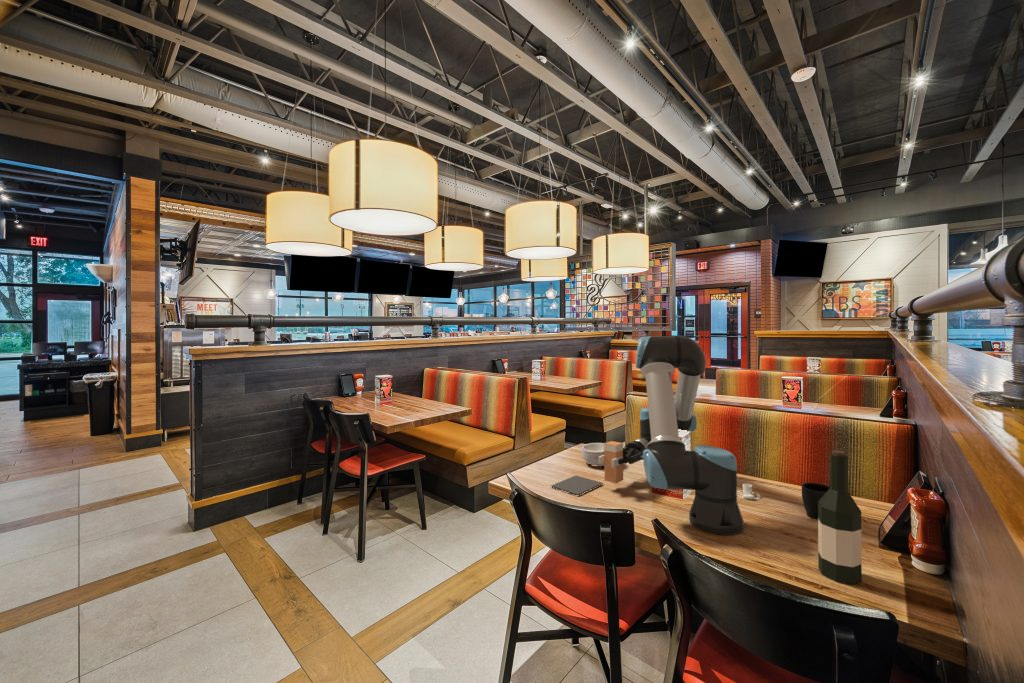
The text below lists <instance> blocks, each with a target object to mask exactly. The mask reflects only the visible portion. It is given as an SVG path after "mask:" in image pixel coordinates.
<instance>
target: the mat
mask: <svg viewBox="0 0 1024 683" xmlns="http://www.w3.org/2000/svg"><path fill="white" fill-rule="evenodd" d="M601 484H603V485H604V483H603V482H601V481H597V480H594V479H591V478H587V477H584V476H580V475H573V476H571V477H569V478H566V479H564V480H563V479H562V480H561V481H558V482H556V483H554V484H551V485H550V487H551V486H552V487H554V488H557V489H560V490H563V491H566V492H569V493H571V494H570V495H572V494H574V495H573V496H575V495H580V494H582V493H584V492H586V491H589V490H590V489H593V488H595V487H597V486H599V485H601ZM599 487H600V486H599ZM597 488H598V487H597ZM595 489H596V488H595ZM593 490H594V489H593ZM563 491H562V492H563ZM566 492H565V493H566ZM589 492H590V491H589ZM569 493H568V494H569ZM580 496H581V495H580Z"/></svg>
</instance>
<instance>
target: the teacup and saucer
mask: <svg viewBox="0 0 1024 683" xmlns="http://www.w3.org/2000/svg"><path fill="white" fill-rule="evenodd" d="M740 491H741V490H737V492H740ZM742 491H743V492H742V493H743V494H742V495H740V494H739V495H740V496H739V495H737V497H740V498H742V499H745V500H746V499H747V500H759V499H761V497H762V496H761V495H760V494H759V493H757V492H754V491H753V485H752V484H750V483H747V482H745V483H742ZM740 493H741V492H740ZM753 493H756V494H757V495H758V497H757V495H756V497H755V495H754V494H753ZM741 496H742V497H741Z"/></svg>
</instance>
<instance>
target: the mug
mask: <svg viewBox="0 0 1024 683" xmlns="http://www.w3.org/2000/svg"><path fill="white" fill-rule="evenodd" d="M829 489H830V486H828V485H826V484H821V483H816V482H804V483H802V484H801V499H802V503H803V507H804V510H805V514H806V516H807V517H808V518H810V519H812V520H815V521H818V501H819V500H820V499H821V498H822V497H823V496H824V494H825V493H826V492H827V491H828V490H829Z"/></svg>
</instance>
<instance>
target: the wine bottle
mask: <svg viewBox="0 0 1024 683" xmlns="http://www.w3.org/2000/svg"><path fill="white" fill-rule="evenodd" d="M831 451H832V452H831V453H829V473H830V474H829V476H830V477H829V481H830V483H829V485H830V486H829V487H830V489H829V490H828V491H827V492H826V493H825V494H824V496H823V497H822V498H821V499H820V500H819V501H818V520H817V524H818V526H817V527H818V528H817V529H818V530H817V536H818V538H817V542H818V544H817V545H818V548H817V550H818V553H817V554H818V557H817V560H818V561H817V562H818V564H817V565H818V570H819V571H820V574H821V575H822V576H823V577H825V578H827V579H830V580H831V581H834V582H836V583H840V584H845V585H852V586H853V585H856V584H859V583H862V577H863V576H862V511H861V509H860V507H859V506H858V504H857V503H856V501H855V500H854V498H853V497H852V495H851V494H850V492H849V466H848V465H849V458H848V457H849V456H848V455H846V452H845V451H843V450H837V449H836V450H835V449H834V450H831Z"/></svg>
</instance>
